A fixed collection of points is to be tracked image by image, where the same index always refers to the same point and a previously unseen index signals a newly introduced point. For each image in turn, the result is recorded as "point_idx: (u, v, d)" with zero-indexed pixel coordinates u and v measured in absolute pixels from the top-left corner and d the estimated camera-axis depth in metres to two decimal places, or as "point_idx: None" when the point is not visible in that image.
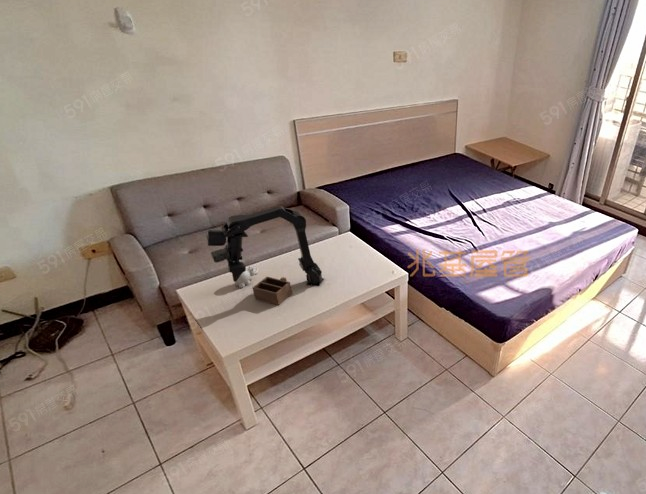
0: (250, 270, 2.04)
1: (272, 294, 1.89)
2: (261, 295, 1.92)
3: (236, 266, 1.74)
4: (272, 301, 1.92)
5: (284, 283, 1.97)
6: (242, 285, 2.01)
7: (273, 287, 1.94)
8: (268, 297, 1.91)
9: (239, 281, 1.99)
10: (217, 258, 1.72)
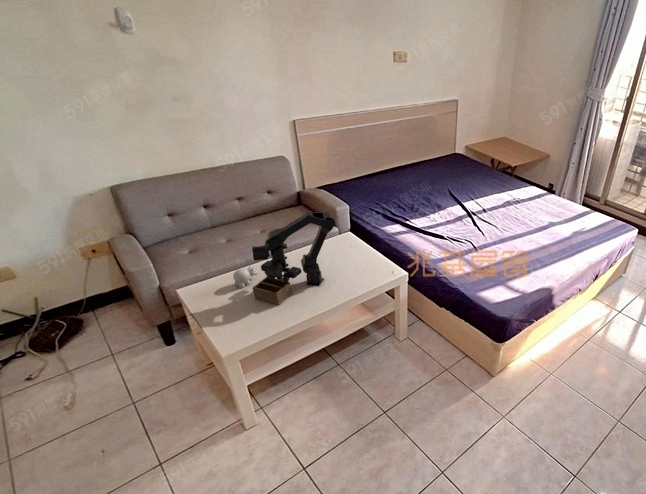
0: (250, 270, 2.04)
1: (272, 294, 1.89)
2: (261, 295, 1.92)
3: (295, 271, 1.95)
4: (272, 301, 1.92)
5: (284, 283, 1.97)
6: (242, 285, 2.01)
7: (273, 287, 1.94)
8: (268, 297, 1.91)
9: (239, 281, 1.99)
10: (278, 273, 1.90)
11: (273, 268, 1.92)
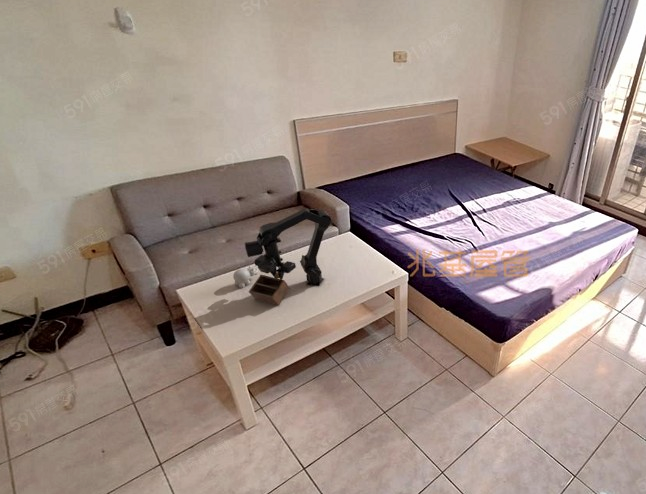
0: (250, 270, 2.04)
1: (269, 297, 1.88)
2: (259, 297, 1.91)
3: (290, 266, 1.90)
4: (271, 302, 1.91)
5: (279, 281, 1.93)
6: (242, 285, 2.01)
7: (268, 288, 1.91)
8: (266, 299, 1.90)
9: (239, 281, 1.99)
10: (271, 268, 1.85)
11: (266, 263, 1.87)
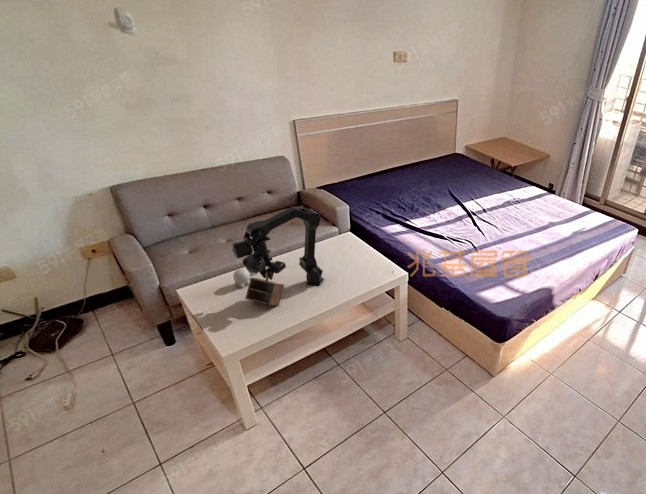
0: None
1: None
2: None
3: (279, 265, 1.83)
4: None
5: (270, 284, 1.88)
6: (242, 285, 2.01)
7: (263, 292, 1.88)
8: None
9: (239, 281, 1.99)
10: (260, 268, 1.78)
11: (255, 263, 1.79)
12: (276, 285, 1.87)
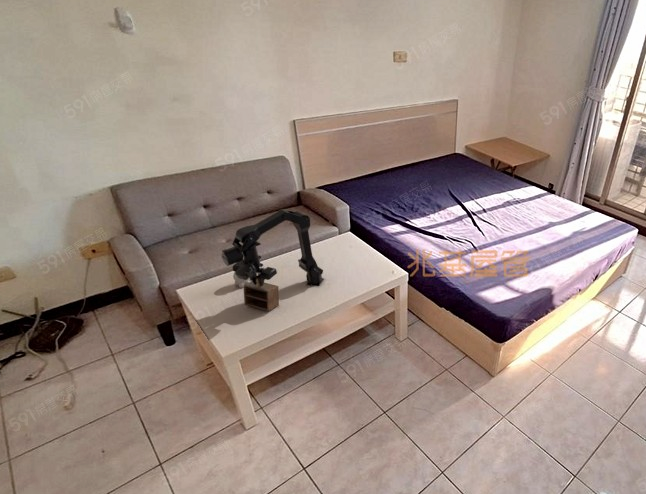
0: None
1: None
2: None
3: (270, 272, 1.78)
4: None
5: None
6: (242, 285, 2.01)
7: None
8: None
9: (239, 281, 1.99)
10: (250, 274, 1.73)
11: (245, 269, 1.74)
12: (270, 291, 1.84)
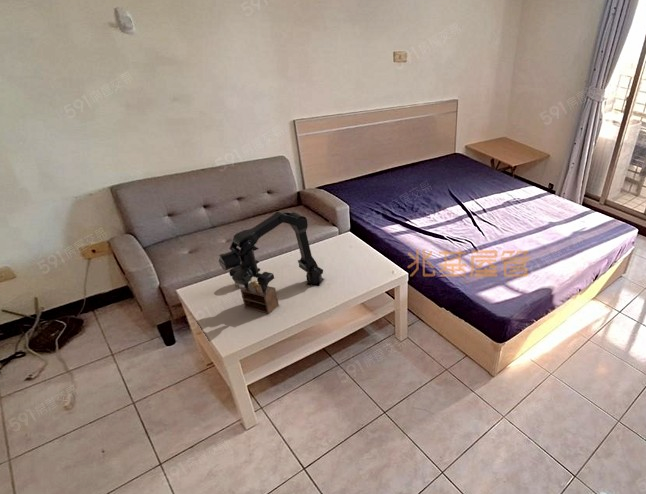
0: None
1: None
2: None
3: (267, 276, 1.77)
4: None
5: None
6: (242, 285, 2.01)
7: None
8: None
9: None
10: (247, 279, 1.72)
11: (242, 273, 1.73)
12: (267, 295, 1.83)
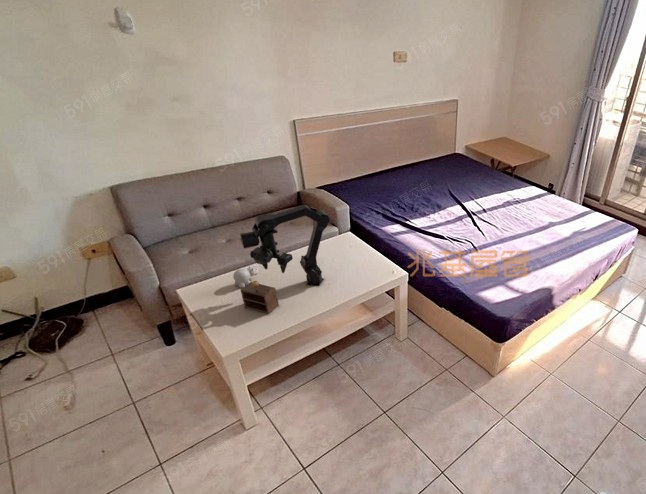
0: (250, 270, 2.04)
1: None
2: None
3: (286, 257, 1.86)
4: None
5: None
6: (242, 285, 2.01)
7: None
8: None
9: (239, 281, 1.99)
10: (267, 259, 1.81)
11: (263, 254, 1.83)
12: (267, 295, 1.83)
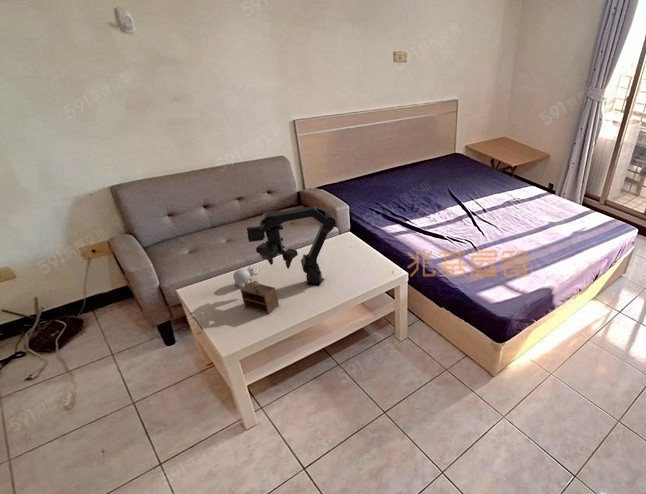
0: (250, 270, 2.04)
1: None
2: None
3: (292, 253, 1.89)
4: None
5: None
6: (242, 285, 2.01)
7: None
8: None
9: (239, 281, 1.99)
10: (273, 254, 1.84)
11: (268, 249, 1.86)
12: (267, 295, 1.83)
